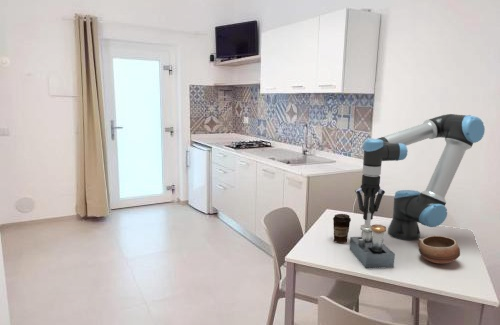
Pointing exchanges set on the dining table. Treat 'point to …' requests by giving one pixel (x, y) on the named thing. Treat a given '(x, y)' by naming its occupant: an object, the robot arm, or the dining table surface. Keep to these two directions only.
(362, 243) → the knob
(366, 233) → the white light bulb
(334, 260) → the dining table surface
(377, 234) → the orange light bulb
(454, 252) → the bowl
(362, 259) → the mount
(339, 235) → the coffee cup
